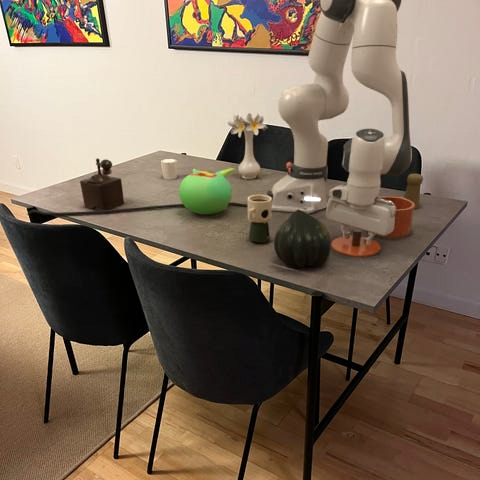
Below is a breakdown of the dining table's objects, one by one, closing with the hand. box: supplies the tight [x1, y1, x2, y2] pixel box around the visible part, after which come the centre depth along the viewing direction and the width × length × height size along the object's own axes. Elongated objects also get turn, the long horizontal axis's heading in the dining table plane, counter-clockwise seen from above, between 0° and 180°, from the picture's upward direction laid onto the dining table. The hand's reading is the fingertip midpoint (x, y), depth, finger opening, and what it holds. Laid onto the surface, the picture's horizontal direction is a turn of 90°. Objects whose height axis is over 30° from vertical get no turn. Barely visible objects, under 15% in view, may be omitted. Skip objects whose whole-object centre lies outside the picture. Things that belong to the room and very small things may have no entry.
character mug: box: [247, 194, 273, 243], centre depth 142 cm, size 11×7×13 cm, turn 147°
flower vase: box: [227, 112, 268, 180], centre depth 196 cm, size 13×18×25 cm
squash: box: [273, 209, 331, 268], centre depth 129 cm, size 14×15×15 cm
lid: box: [330, 228, 381, 258], centre depth 138 cm, size 14×14×6 cm
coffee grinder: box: [79, 157, 125, 211], centre depth 168 cm, size 16×11×18 cm
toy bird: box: [178, 167, 235, 215], centre depth 163 cm, size 18×17×15 cm
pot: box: [375, 195, 416, 238], centre depth 148 cm, size 13×18×9 cm
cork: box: [403, 173, 424, 210], centre depth 167 cm, size 6×6×11 cm
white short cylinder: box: [160, 158, 178, 181], centre depth 201 cm, size 7×7×7 cm
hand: (356, 241), depth 138 cm, fingers open, 5 cm apart
